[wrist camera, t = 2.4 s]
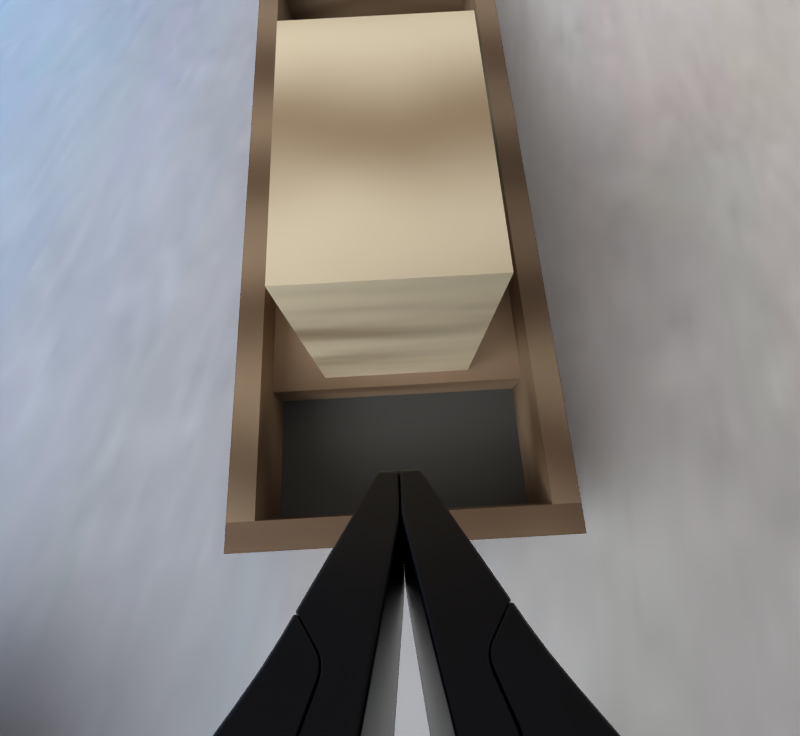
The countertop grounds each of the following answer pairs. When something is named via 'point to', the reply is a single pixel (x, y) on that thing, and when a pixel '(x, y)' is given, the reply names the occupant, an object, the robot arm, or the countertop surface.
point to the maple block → (385, 193)
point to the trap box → (396, 393)
